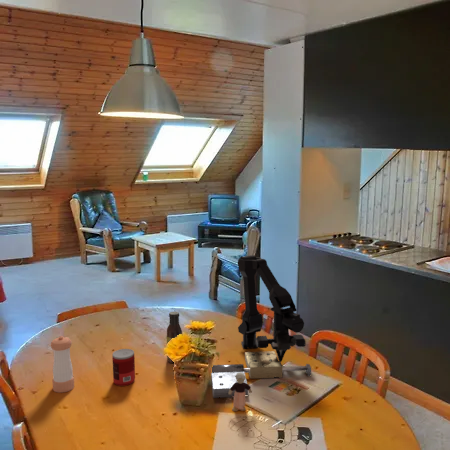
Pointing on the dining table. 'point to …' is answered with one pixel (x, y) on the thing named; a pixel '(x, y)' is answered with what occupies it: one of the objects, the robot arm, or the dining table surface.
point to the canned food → (123, 367)
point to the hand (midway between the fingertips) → (280, 361)
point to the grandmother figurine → (239, 392)
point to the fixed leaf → (226, 377)
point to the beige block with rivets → (263, 364)
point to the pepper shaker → (62, 365)
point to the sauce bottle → (173, 328)
